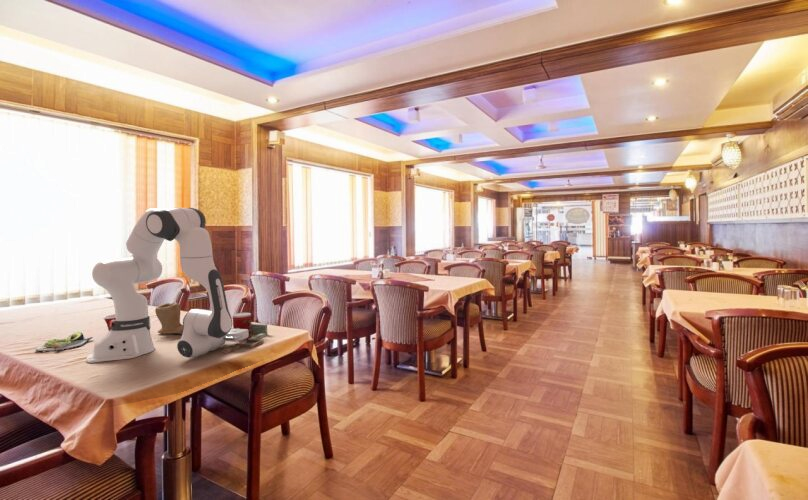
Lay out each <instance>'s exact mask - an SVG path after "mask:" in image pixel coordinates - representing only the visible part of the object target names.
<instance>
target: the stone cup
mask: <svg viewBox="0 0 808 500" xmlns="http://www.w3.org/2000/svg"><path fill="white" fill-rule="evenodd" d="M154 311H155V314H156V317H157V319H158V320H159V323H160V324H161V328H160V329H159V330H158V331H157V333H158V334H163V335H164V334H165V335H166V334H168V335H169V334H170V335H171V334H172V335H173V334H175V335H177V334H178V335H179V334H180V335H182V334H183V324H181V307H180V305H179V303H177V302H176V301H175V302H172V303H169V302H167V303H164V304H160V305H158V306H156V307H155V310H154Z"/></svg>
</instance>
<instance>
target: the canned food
mask: <svg viewBox="0 0 808 500" xmlns="http://www.w3.org/2000/svg"><path fill="white" fill-rule="evenodd" d="M252 324H253V323H252V313H251V312H238V313H234V314H232V328H240V329H248V332H249V336H248V338H246V339H243V340H242V341H246V340H247V339H249V338H251V337H253V335H252Z"/></svg>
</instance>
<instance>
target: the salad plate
mask: <svg viewBox="0 0 808 500" xmlns="http://www.w3.org/2000/svg"><path fill="white" fill-rule="evenodd" d="M93 338H94V337H93V336H91V337H88V336H87V337H85V336H84V333H82V332H81V331H80V332H74V333H72V334H71V335H69V336H68V337H67V338H64V339H61V338H60V339H56V338H54V339H51V340H47V342H43V343H42V344H40V345H39V346H37V347H36V348H35V350H36V351H37V352H39V351H52V352H56V351H55V350H61V351H65V350H64V349H66V350H70V349H69V348H71V349H74V348H73V347H75V348H78V347H77V346H79V347H81V346H83V345H84V344H86V343H87V342H88V341H90V340H91V339H93ZM85 342H86V343H85ZM42 347H54V348H45V349H42Z"/></svg>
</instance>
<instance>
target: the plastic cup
mask: <svg viewBox="0 0 808 500" xmlns="http://www.w3.org/2000/svg"><path fill="white" fill-rule="evenodd" d="M102 318H103V320H104V321H105V324H106V326H107V330H108V332H109V331H110V330H111V329H110V321H111V320H116V317H115V313H114V314H109V315H106V316H103V317H102Z"/></svg>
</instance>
